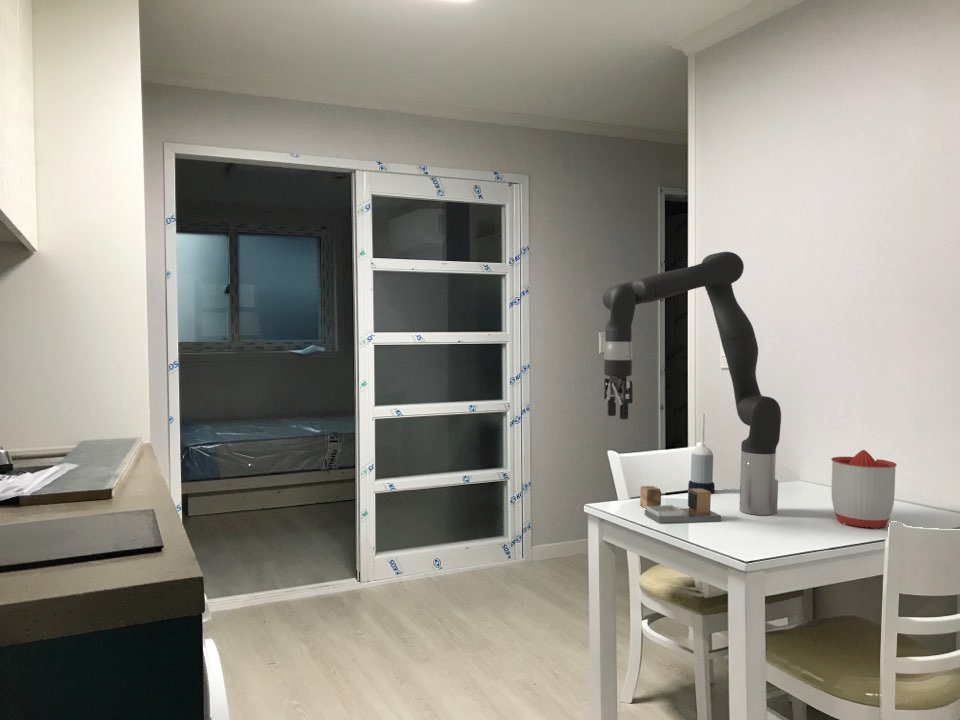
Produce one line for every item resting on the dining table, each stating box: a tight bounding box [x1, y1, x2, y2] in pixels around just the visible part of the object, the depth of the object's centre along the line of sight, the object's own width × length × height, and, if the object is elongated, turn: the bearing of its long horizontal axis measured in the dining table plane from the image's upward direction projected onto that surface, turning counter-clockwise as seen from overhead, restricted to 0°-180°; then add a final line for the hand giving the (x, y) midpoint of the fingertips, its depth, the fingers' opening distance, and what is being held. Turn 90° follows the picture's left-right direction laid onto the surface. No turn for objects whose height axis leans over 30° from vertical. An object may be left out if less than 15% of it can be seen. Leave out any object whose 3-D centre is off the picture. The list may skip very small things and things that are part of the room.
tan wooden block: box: [639, 485, 662, 510], centre depth 208 cm, size 4×4×6 cm
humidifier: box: [687, 413, 715, 495], centre depth 233 cm, size 8×8×25 cm
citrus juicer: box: [830, 449, 897, 529], centre depth 196 cm, size 16×17×20 cm
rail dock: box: [644, 489, 722, 524], centre depth 197 cm, size 18×9×8 cm, turn 101°
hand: (617, 417), depth 198 cm, fingers open, 8 cm apart
